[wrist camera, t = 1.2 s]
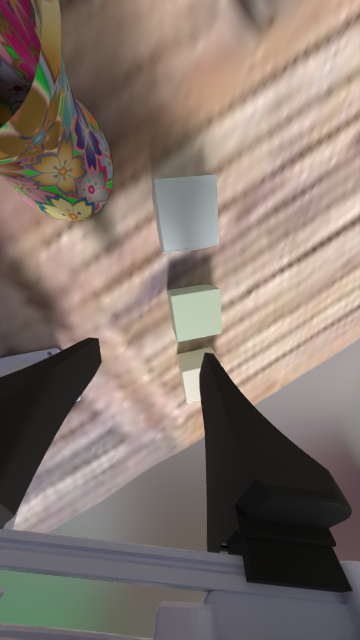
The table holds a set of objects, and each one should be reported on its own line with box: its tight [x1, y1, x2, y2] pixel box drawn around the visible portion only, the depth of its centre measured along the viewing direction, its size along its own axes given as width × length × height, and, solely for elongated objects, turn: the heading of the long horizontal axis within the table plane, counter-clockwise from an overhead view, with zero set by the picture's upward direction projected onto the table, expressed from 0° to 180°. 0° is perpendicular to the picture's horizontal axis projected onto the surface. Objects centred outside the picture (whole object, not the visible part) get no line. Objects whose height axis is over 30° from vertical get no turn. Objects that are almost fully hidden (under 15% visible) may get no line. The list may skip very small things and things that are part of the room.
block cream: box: [177, 347, 223, 404], centre depth 21 cm, size 5×5×4 cm
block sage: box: [167, 284, 222, 342], centre depth 18 cm, size 5×5×4 cm
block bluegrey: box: [153, 174, 219, 254], centre depth 15 cm, size 5×5×4 cm
